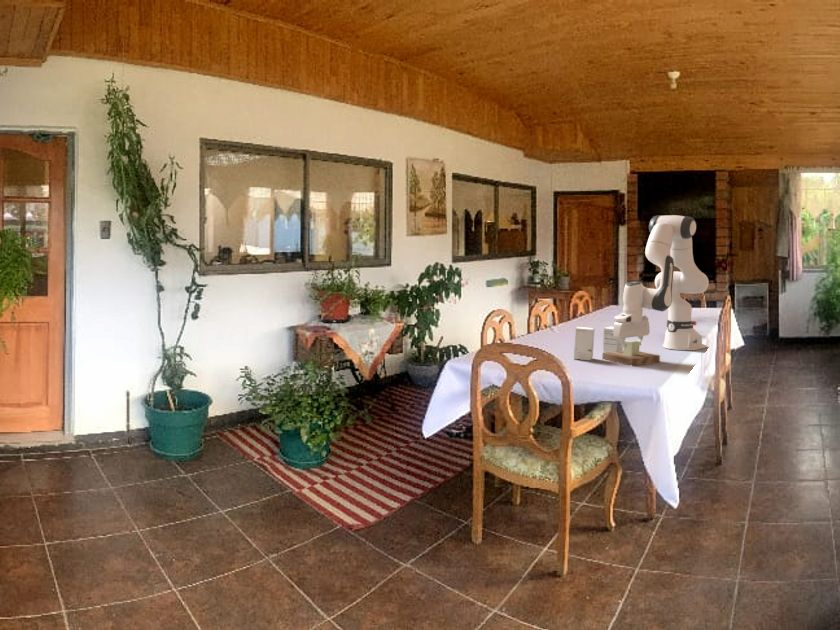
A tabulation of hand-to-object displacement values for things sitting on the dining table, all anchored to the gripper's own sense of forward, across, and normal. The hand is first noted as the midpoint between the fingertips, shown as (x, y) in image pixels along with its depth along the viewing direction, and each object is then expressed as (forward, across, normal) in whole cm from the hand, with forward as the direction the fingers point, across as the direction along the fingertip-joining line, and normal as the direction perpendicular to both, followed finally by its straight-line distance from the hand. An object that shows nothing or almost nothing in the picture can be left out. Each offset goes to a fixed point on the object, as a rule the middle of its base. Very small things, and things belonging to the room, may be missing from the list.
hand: (631, 346), depth 327 cm
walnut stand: (+7, 0, 0) cm, 7 cm away
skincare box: (+7, +16, -14) cm, 22 cm away
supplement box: (+7, -7, -18) cm, 21 cm away
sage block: (+4, 0, 0) cm, 4 cm away
